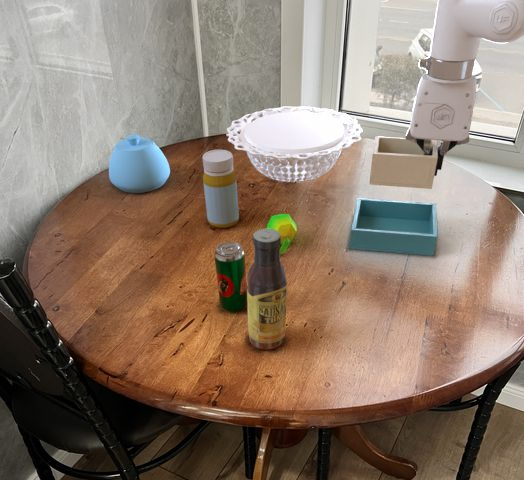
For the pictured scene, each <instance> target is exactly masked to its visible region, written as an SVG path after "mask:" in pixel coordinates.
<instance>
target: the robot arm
mask: <svg viewBox="0 0 524 480" xmlns="http://www.w3.org/2000/svg"><path fill="white" fill-rule="evenodd" d="M432 29H433V30H432V37H431V42H430V48H429V53H428V56H426V58H419V62H418V69H423V70H424V71H425V72H423V73H422V75H421V76H420V77H421V78H420V80H419V83H418V86H417V91H416V94H415V96H414V97H415V98H414V101H413V105H412V106H413V107H412V112H411V117H410V124H409V127H408V129H407V131H406V133H405V138H406V140H408V141H411V142H414V143H417V144H418V146H419V147H420V148H421V149H422V150H423V152H424V155H429V156H432V147H431V140H437V141H440V144H439V146H437V152H438V159H437V164H436V169H435V174H434V177H437V176H438V171H442V168H443V163H444V159H445V158H444V157H445V156H446V155H447V153H449V151H450V150H452V149H453V148H455V147H456V146H461V145H467V144H468V143H470V130H471V126H472V122H473V114H474V109H475V103H476V95H477V82H478V81H477V77H476V76H475V75H474V69H475V66H476V61H477V56H478V51H479V47H480V42H481V39H482V40H484V41H488V42H491V43H496V44H509V43H512V42H515V41H517V40H519V39H520V38H522V37H523V36H524V0H437V6H436V11H435V18H434V24H433V28H432Z"/></svg>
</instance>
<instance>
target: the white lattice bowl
mask: <svg viewBox="0 0 524 480" xmlns="http://www.w3.org/2000/svg"><path fill="white" fill-rule="evenodd" d="M313 111H314V112H313ZM260 115H262V116H260ZM236 122H237V123H236ZM361 126H362V125H361V124H359V123H358V120H357V119H356V118H352V117H350V116H349V114H347V113H346V112H340V111H336V110H334V109H330V108H320V107H319V106H317V107H311V106H308V105H301V106H290V105H284V106H281V107H273V108H272V107H271V108H265V109H263V110H260V111H258V110H257V111H255V112H253V113H247V114H244V115H243V116H242V117H240V118H238V119H233V120H232V121H231V125H230V126H229V127H227V128H226V131H227V133H226V135H225V136H226V137H228V138H227V142H229V143H231V145H233V146H234V149H235V150H237V151H244V152H246V156H247V157H248V159H249V161H250V164H252V166H253V167H254V169H256V171H257V172H259V173H260V174H261V175H263V176H264V177H266V178H268V179H271V180H272V181H274V180H275V181H276V182H281V183H284V182H286V183H295V182H296V183H301V182H307V181H308V182H310V181H311V180H313V181H314V180H315V179H318V178H320V177H322V176H323V175H325V174H327V173H328V172H330V170H331V169H333V167H334V166H335V164H336V163H337V161H338V160H339V158H340V155H341V154H342V150H346V149H349V148H351V147H352V146H353V145H354V144H355V143H357V142H361V140H362V137H361V134H363V132H364V130H363V128H362V127H361ZM238 132H239V133H238ZM288 160H289V161H288Z"/></svg>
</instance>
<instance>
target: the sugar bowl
mask: <svg viewBox="0 0 524 480" xmlns="http://www.w3.org/2000/svg"><path fill="white" fill-rule="evenodd" d="M170 174H171V169H170V164H169V162H168V159H167V157H166V155H165V154H164V153H163V151H162V150H161V149H160V148H159V147H158V145H157V144H156V143H155V141H153V140H152V139H151V138H148V137H144V136H140V135H139V134H136V133H133V134H128V135H127V136H125V138H124V139H121V140H120V141H118V142H117V143H116V144H115V146H114V148H113V150H112V152H111V155H110V158H109V164H108V177H109V181H110V182H111V184H112V185H113V186H115V188H117V189H119V190H120V191H122V192H125V193H128V194H129V193H130V194H142V193H144V194H145V193H148V192H152V191H155V190H157V189H159V188H161V187H162V186H164V185H165V184H166V182H167V180H168V179H169V177H170Z"/></svg>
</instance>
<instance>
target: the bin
mask: <svg viewBox="0 0 524 480" xmlns="http://www.w3.org/2000/svg"><path fill="white" fill-rule="evenodd" d="M437 210H438V209H437V203H432V202H419V201H405V200H393V199H392V200H391V199H390V200H389V199H378V198H377V199H374V198H364V197H363V198H362V197H357V199H356V204H355V208H354V214H353V220H352V223H351V229H350V239H349V240H350V242H349V249H350V250H358V251H359V250H360V251H370V252H372V251H373V252H382V253H393V254H395V253H396V254H407V255H417V256H429V257H434V255H435V251H436V246H437V240H438V211H437Z"/></svg>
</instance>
